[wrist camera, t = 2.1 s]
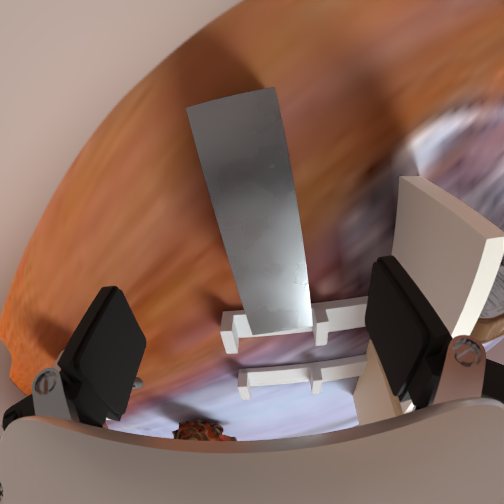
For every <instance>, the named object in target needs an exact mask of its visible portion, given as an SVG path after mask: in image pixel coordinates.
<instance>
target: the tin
mask: <svg viewBox="0 0 504 504" xmlns="http://www.w3.org/2000/svg"><path fill="white" fill-rule="evenodd" d="M503 335H504V265H500V266H499V269H498V272H497V275H496V277H495V280H494V283H493V285H492V288H491V290H490V293H489V295H488V298H487V300H486V302H485V305H484V307H483V309H482V311H481V313H480V316H479V318H478V320H477V322H476V324H475V326H474V328H473V330H472V332H471V334H470V336H472V337H474V338H476V339H477V340H478V341H479V342H480V343H481V344H485V343H488V342H490V341H492V340H495V339H497V338H499V337H501V336H503Z"/></svg>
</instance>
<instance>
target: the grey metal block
mask: <svg viewBox="0 0 504 504" xmlns="http://www.w3.org/2000/svg"><path fill="white" fill-rule="evenodd" d="M186 111H187V115H188V119H189V123H190V126H191V130H192V134H193V138H194V141H195V145H196V149H197V152H198V156H199V160H200V163H201V167H202V170H203V174H204V177H205V181H206V185H207V188H208V192H209V195H210V199H211V202H212V205H213V209H214V212H215V216H216V219H217V223H218V226H219V229H220V233H221V236H222V239H223V243H224V246H225V249H226V253H227V256H228V259H229V263H230V266H231V269H232V272H233V276H234V279H235V282H236V285H237V288H238V292H239V295H240V298H241V301H242V304H243V307H244V311H245V314H246V317H247V320H248V323H249V326H250V329H251V332H252V335H259V334H266V333H273V332H279V331H286V330H292V329H298V328H304V327H309V326H313V321H312V311H311V302H310V293H309V284H308V276H307V268H306V260H305V252H304V245H303V238H302V231H301V224H300V218H299V211H298V205H297V199H296V193H295V187H294V181H293V175H292V169H291V164H290V158H289V153H288V148H287V143H286V138H285V133H284V128H283V123H282V118H281V113H280V109H279V104H278V99H277V95H276V91H275V87H272V88H266V89H260V90H255V91H250V92H245V93H240V94H236V95H232V96H227V97H223V98H219V99H215V100H211V101H208V102H204V103H200V104H197V105H193V106H190V107H187V108H186Z"/></svg>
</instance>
